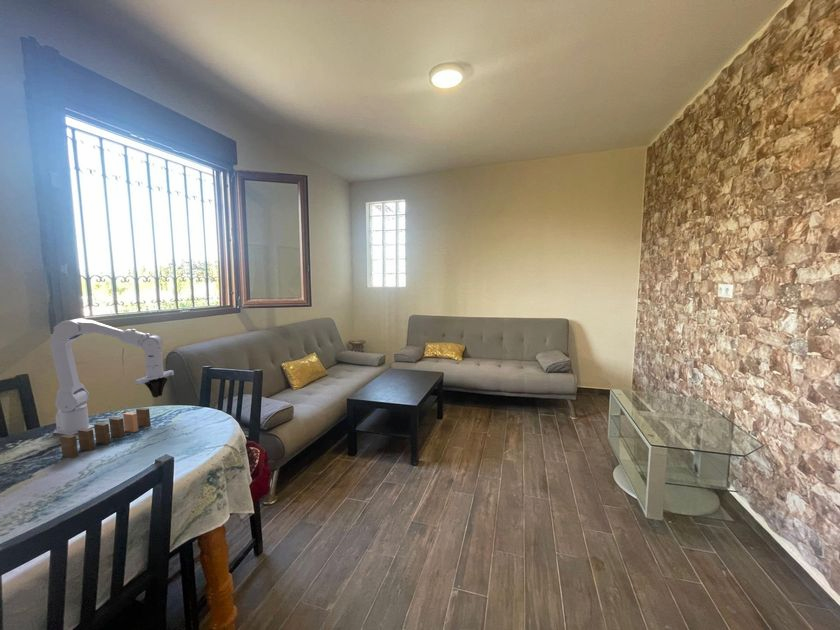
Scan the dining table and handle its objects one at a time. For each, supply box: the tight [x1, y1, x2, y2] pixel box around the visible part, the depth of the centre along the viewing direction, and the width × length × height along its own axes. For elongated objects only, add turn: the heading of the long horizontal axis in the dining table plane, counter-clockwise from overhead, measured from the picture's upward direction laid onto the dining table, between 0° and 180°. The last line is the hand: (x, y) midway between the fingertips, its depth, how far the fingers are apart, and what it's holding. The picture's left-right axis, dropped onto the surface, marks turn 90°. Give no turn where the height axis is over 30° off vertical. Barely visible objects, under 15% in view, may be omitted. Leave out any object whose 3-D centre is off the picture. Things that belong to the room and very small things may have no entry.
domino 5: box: [135, 407, 151, 428], centre depth 135 cm, size 2×5×7 cm, turn 76°
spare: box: [122, 411, 139, 433], centre depth 131 cm, size 2×5×7 cm, turn 77°
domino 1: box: [59, 434, 79, 459], centre depth 112 cm, size 2×5×7 cm, turn 76°
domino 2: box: [77, 428, 96, 452], centre depth 117 cm, size 2×5×7 cm, turn 76°
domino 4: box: [108, 416, 126, 439], centre depth 126 cm, size 2×5×7 cm, turn 77°
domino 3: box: [93, 422, 112, 445], centre depth 121 cm, size 2×5×7 cm, turn 77°
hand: (157, 396), depth 141 cm, fingers closed
